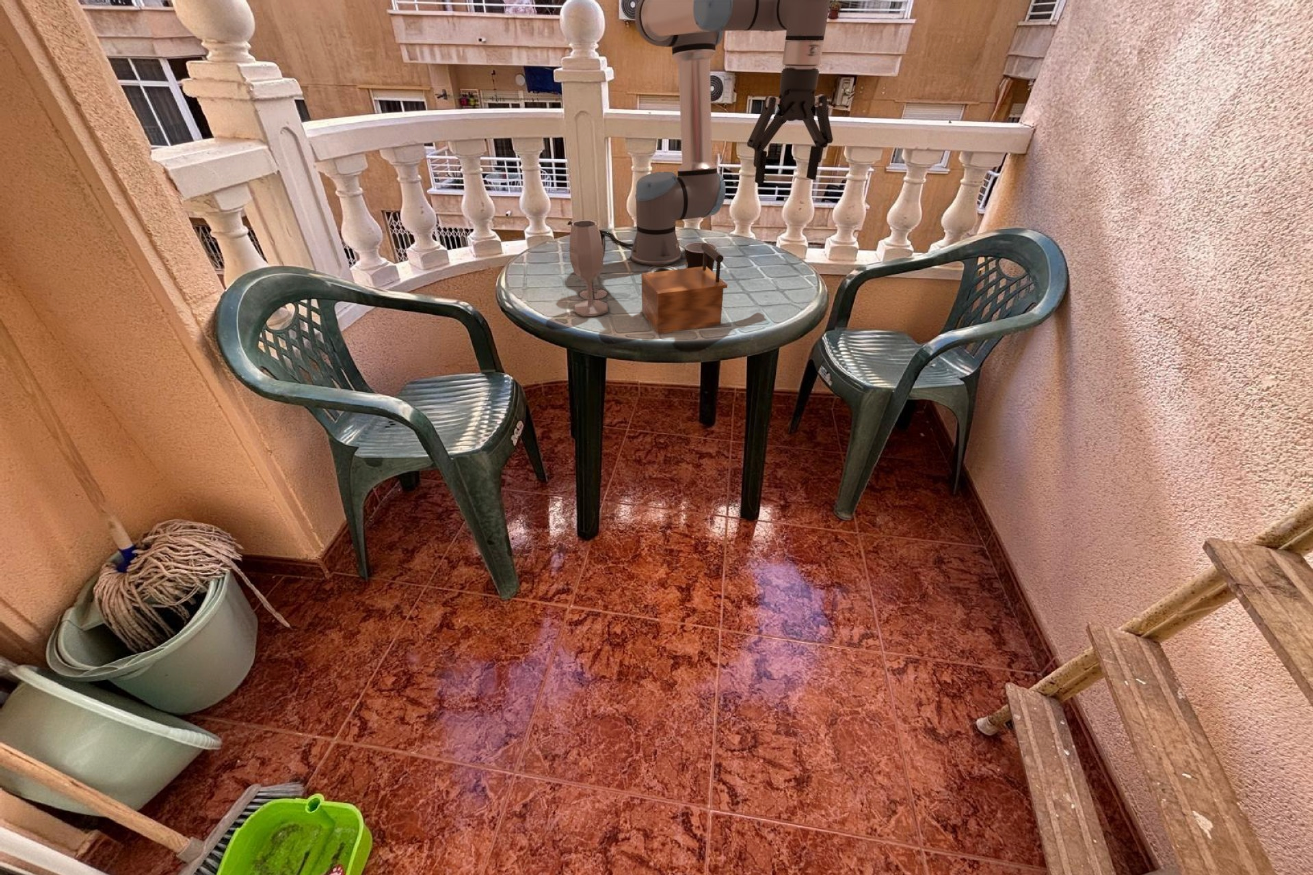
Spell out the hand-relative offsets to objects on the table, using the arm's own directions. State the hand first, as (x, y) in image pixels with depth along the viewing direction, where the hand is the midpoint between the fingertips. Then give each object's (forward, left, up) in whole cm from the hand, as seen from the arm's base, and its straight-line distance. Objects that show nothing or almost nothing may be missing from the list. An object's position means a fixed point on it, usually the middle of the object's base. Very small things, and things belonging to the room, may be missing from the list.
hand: (785, 181), depth 121 cm
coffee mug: (-21, +4, -29) cm, 36 cm away
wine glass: (-43, -17, -29) cm, 55 cm away
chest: (-16, -20, -29) cm, 38 cm away
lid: (-16, -20, -20) cm, 32 cm away
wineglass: (-38, -26, -29) cm, 54 cm away
